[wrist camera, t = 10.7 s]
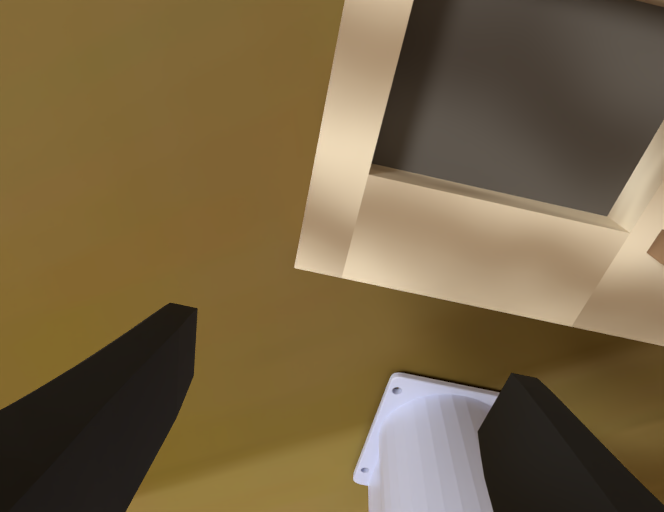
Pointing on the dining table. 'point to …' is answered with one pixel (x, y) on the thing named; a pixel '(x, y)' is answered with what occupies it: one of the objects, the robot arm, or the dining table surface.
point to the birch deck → (497, 158)
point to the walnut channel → (657, 248)
